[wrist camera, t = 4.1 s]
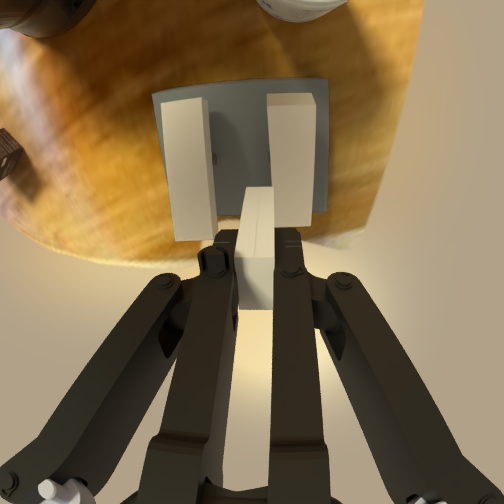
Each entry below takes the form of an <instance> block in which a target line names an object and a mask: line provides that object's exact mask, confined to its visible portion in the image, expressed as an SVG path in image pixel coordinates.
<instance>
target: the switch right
mask: <svg viewBox="0 0 504 504" xmlns="http://www.w3.org/2000/svg"><path fill="white" fill-rule="evenodd" d="M267 114H268V129H269V145H270V161H271V179H272V187H274V227H300V226H311V217H312V201H313V183H314V161H315V133H316V104H315V101H314V98H313V96H312V93H274V94H267Z"/></svg>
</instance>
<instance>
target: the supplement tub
mask: <svg viewBox="0 0 504 504" xmlns="http://www.w3.org/2000/svg"><path fill="white" fill-rule="evenodd" d="M256 1H257V2H258V4H259V5H260V6H261V7H262V8H263V9H264V10H265V11H266V12H268V13H269V14H270V15H272V16H274V17H276V18H278V19H281V20H284V21H288V22H308V21H312V20H315V19H317V18H319V17H321V16H323V15H325V14H326V13H328V12H330V11H331V10H333V9H335V8H337V7H338V6H340V5H342V4H344V3H345V2H347V1H349V0H256Z"/></svg>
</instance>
